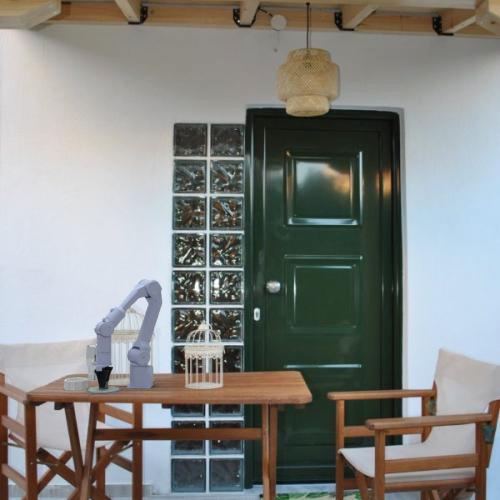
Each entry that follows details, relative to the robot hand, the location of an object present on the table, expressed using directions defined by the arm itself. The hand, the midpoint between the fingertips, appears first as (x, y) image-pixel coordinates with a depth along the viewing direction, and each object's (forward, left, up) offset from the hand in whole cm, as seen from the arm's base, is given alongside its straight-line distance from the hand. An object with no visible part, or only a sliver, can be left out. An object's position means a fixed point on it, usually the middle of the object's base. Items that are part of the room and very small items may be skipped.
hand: (103, 386), depth 256 cm
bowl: (+12, -3, -2) cm, 13 cm away
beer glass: (+10, -22, -2) cm, 24 cm away
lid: (0, 0, -2) cm, 2 cm away
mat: (0, 0, -2) cm, 2 cm away
